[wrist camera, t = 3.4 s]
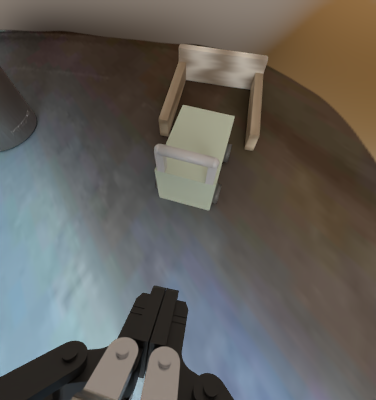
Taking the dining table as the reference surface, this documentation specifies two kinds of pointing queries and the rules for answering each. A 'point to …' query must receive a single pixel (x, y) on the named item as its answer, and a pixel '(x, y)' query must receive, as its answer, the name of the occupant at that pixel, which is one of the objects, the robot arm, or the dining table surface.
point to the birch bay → (217, 82)
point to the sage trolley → (193, 157)
